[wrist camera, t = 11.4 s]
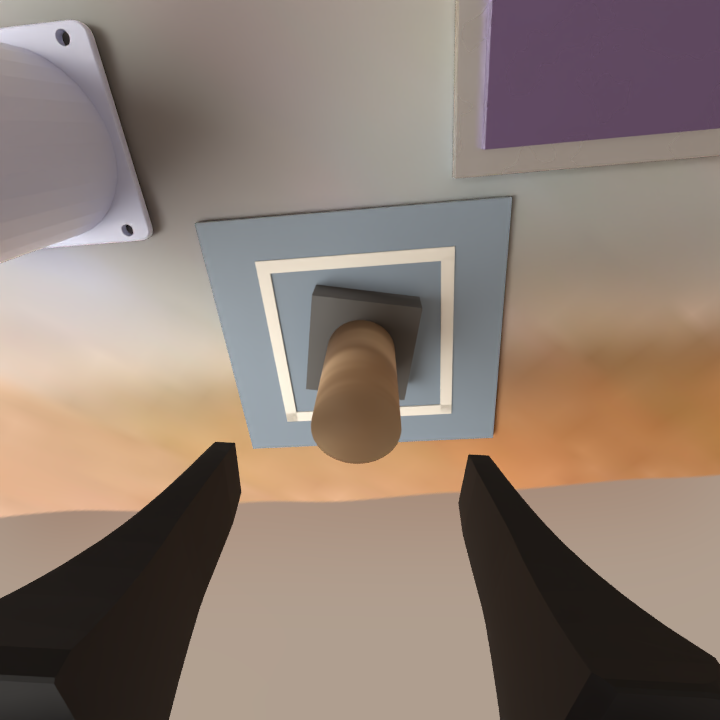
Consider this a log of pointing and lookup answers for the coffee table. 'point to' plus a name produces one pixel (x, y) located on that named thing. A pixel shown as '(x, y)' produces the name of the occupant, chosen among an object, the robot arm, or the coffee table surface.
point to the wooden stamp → (359, 369)
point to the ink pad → (583, 83)
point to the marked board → (371, 273)
